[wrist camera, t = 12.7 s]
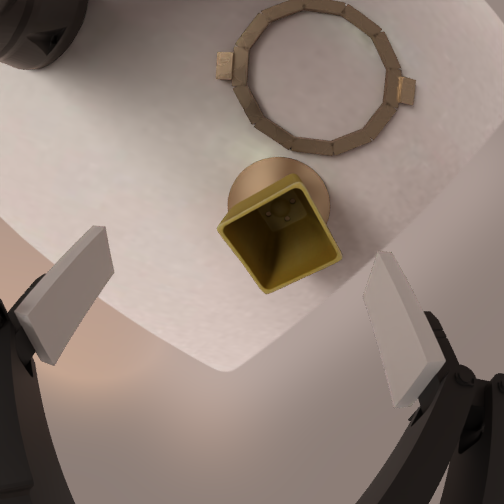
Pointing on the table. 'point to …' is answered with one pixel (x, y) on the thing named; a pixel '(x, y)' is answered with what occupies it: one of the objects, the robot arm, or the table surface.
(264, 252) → the flower pot
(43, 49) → the robot arm
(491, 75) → the table surface
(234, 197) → the coaster
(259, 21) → the socket ring
